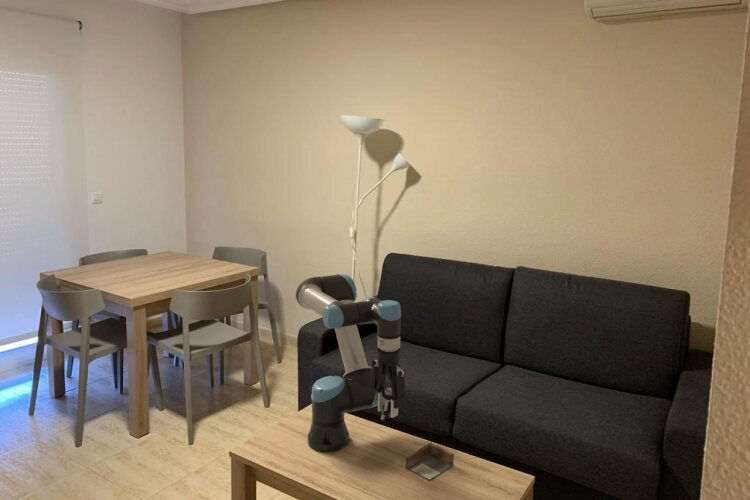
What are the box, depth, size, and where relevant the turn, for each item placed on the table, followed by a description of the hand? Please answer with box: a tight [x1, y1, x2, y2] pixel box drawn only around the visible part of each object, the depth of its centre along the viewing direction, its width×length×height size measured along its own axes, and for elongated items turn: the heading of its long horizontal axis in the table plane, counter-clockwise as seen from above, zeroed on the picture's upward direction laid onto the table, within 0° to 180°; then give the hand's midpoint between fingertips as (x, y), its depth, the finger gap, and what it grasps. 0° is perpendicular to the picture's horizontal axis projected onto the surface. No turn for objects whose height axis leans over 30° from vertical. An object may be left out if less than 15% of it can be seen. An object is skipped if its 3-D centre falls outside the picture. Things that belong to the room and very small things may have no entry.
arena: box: [405, 442, 455, 482], centre depth 201 cm, size 10×13×4 cm
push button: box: [380, 386, 393, 421], centre depth 200 cm, size 7×5×10 cm
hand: (387, 412), depth 200 cm, fingers closed on push button, 5 cm apart
